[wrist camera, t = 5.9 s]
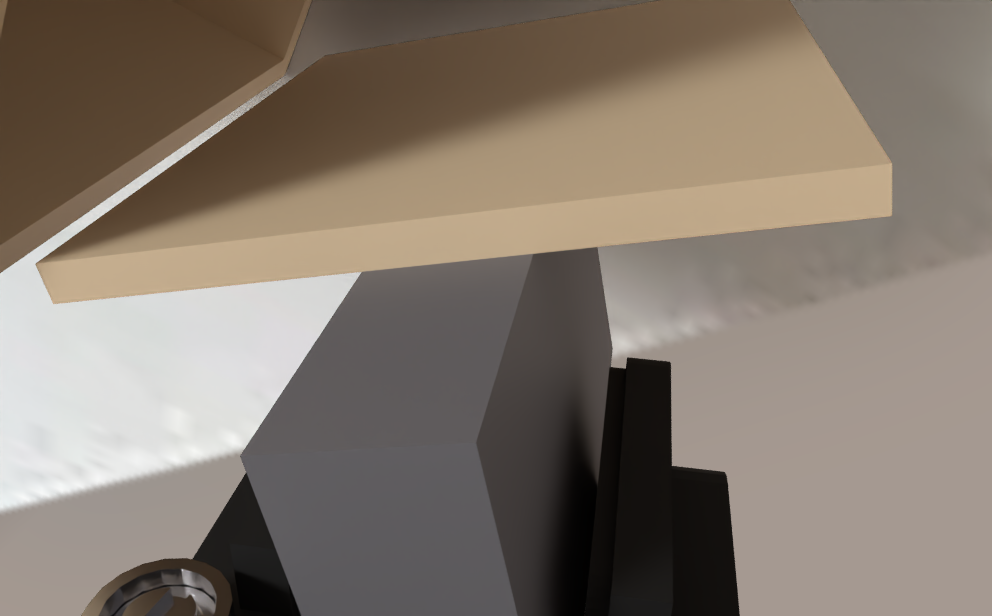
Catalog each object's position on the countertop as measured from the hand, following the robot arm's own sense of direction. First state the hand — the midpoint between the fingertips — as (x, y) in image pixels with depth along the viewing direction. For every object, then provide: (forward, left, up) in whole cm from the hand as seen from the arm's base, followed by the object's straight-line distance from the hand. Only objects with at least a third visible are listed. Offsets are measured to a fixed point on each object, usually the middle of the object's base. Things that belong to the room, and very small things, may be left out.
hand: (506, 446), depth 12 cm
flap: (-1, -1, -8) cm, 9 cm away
